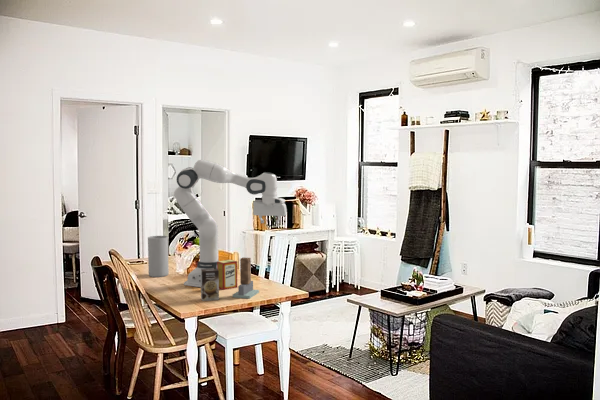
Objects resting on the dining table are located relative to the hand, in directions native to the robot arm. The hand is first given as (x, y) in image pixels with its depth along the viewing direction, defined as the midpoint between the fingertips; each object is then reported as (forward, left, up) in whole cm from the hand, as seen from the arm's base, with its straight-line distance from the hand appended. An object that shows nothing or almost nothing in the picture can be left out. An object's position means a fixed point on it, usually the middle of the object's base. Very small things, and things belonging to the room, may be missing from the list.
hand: (269, 223), depth 325 cm
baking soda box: (-22, -13, -37) cm, 45 cm away
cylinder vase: (-79, +6, -37) cm, 88 cm away
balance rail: (-5, -26, -37) cm, 46 cm away
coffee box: (-20, -40, -37) cm, 58 cm away
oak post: (-5, -26, -31) cm, 40 cm away
